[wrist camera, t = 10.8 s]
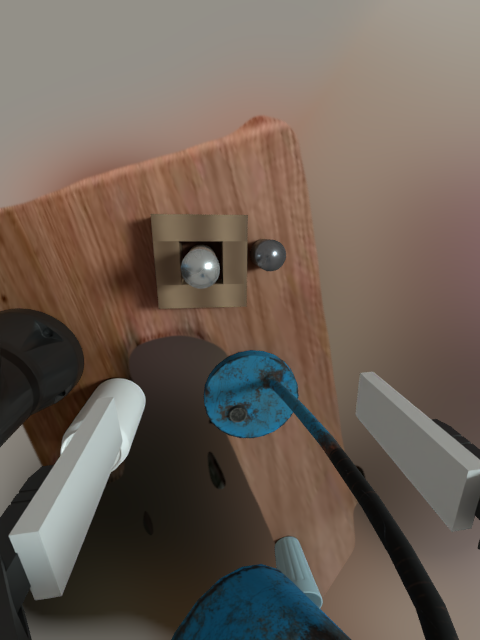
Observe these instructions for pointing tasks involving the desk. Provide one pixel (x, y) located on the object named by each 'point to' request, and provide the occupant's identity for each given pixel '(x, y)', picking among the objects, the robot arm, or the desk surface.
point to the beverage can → (128, 411)
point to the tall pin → (200, 267)
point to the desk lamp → (269, 583)
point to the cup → (296, 567)
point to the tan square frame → (169, 259)
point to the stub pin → (268, 254)
